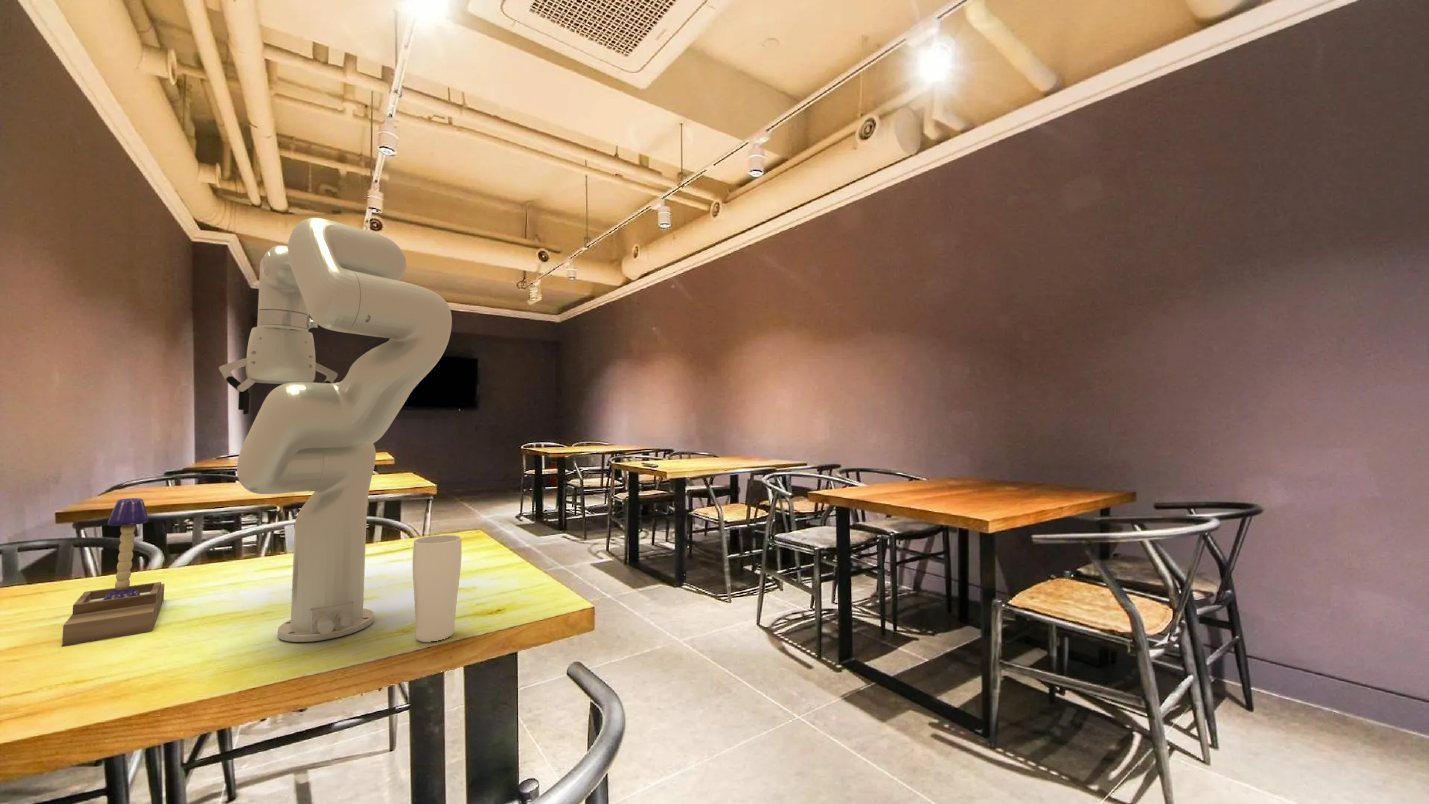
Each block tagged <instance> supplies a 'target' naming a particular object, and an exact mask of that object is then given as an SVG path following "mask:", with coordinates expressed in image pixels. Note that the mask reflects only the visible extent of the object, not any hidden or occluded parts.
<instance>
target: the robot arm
mask: <svg viewBox="0 0 1429 804" xmlns="http://www.w3.org/2000/svg"><path fill="white" fill-rule="evenodd" d="M406 269H407V259H406V257H405V254H404V252H403V251H402V249H401V247H400V246H399V245H398V244H397V243H396V242H395V241H393V240H391V239H390V238H388V237H386V236H384V235H381V234H379V233H376V232H375V231H374V232H373V231H370V230H366V229H363V228H360V227H355V226H352V225H349V224H344V223H341V222H338V221H334V220H330V219H327V218H324V217H323V218H322V217H310V218H309V217H308V218H306V219H304V220H301V221H300V222H299V223H297V225H295V226H294V228H293V229H292V231H291V233H290V235H289V238H288V242H287V245H280V244H279V245H275V246H272V247H271V248H270V249H269V250H268V251H266V252H265V253H264V255H263V257H262V258H261V260H260V263H259V280H258V281H259V283H258V301H257V302H258V303H257V323H256V324H257V325H256V326H254V327H252V328H251V331H250V334H249V338H248V341H247V342H248V344H247V348H246V357H245V358H241V359H238V360H235V361H232V362H228V363H225V364H222V365H220V366H219V367H218V369H219V371H220V373H221V374H222V376H223V377H224V379H225V382H226V383H228V384H229V385H230V386H231V387H232V388H234V389H235V390H236V391H237V392H238V404H237V405H238V410H239V411H241V410H242V414H243V415H248V414H249V411H250V410H249V409H250V392H249V388H250V387H252V386H253V385H254V384H255V383H256V384H257V383H258V384H275V385H277V384H278V386H276V387H275V388H274V389H272V390H271V391H270V392H269V393H268V394H267V396H266V397H265V399H264V400H263V402H262V404H261V407H260V409H259V411H258V412H257V415H256V417H255V419H254V421H253V423H252V425H251V426H250V429H249V432H248V433H247V435H246V437H245V440H244V441H243V444H242V446H241V449H240V451H239V454H238V458H237V463H236V475H237V478H238V480H239V483H240V485H241V486H242V487H243V488H244V489H246V490H247V491H248V492H250V493H254V494H257V495H277V494H278V495H280V494H291V493H301V492H302V493H306V492H313V493H312V494H311V495H310V497H308V499H307V501H306V502H305V503H304V504H303V505H302V507H301V509H300V510H299V512H298V513H297V515H296V518H295V522H294V532H293V533H294V536H293V558H292V559H293V561H292V579H291V580H292V581H291V583H292V584H291V585H292V586H291V587H292V588H291V606H290V607H291V608H290V609H291V610H290V619H288V620H286V621H284V622H283V623H282V624H281V625H279V626H278V628H277V637H278V638H279V640H282V641H286V642H291V643H309V642H319V641H325V640H332V639H336V638H340V637H344V636H348V635H351V634H354V633H356V632H359V631H362V630H364V629H365V628H368V627H369V626H370V625H372V624H373V622H374V619H375V614H374V612H373V610H371V609H368V608H364V597H365V596H364V595H365V594H364V593H365V569H366V566H365V565H366V543H367V542H366V540H367V539H366V538H367V522H368V521H367V519H368V518H367V517H368V515H367V514H368V501H369V494H370V493H369V492H370V488H371V483H372V482H371V481H372V478H373V474H374V470H375V465H376V460H377V459H376V458H377V457H376V455H377V454H376V453H377V452H376V447H375V443H376V442H378V440H380V439H381V438H382V437H383V436H384V435H385V433H386V432H387V431H388V430H389V428H390V427H391V425H392V423H393V421H394V420H395V418H396V417H397V416H398V414H399V412H400V411H401V409H402V408H403V406H404V405H405V402H407V400H408V398H409V396H410V394H411V393H412V392H413V390H414V389H415V388H416V387H417V386H418V385H419V383H420V382H421V381H422V380H423V379H424V378H426V377H427V375H428V374H429V373H430V372H431V371H432V370H433V368H434V367H435V366H436V365H437V364H438V362H440V360H441V358H442V356H443V354H444V353H445V351H446V349H447V346H448V344H449V341H450V337H451V333H452V324H453V323H452V321H453V320H452V319H453V317H452V311H451V308H450V306H449V303H448V302H447V301H446V300H445V299H444V297H443V296H441V295H440V294H438V293H436V292H435V291H433V290H431V289H428V288H426V287H424V286H420V285H417V284H414V283H410V282H407V281H403V280H402V281H401V279H402V277H404V274H405V273H406ZM318 326H320V327H321V328H323V329H325V330H329V331H334V332H339V333H345V334H355V335H361V336H368V337H375V338H385V339H389V340H388V341H386V342H384V343H381V344H380V345H378V346H375V347H373V348H371V349H370V350H368V351H367V352H365V353H364V354H362V355H360V357H358V358H357V359H356V360H355V361H354V362H353V363H352V364H351V366H350V367H349V370H348V372H347V373H346V375H345V377H344V378H343V379H342V380H341V381H339V382H338V381H337V382H335V380H336V379H337V378H338V375H339V374H338V373H337V371H335V370H332V369H330V368H328V367H326V366H324V365H322V364H320V363H318V362H317V361H316V350H315V349H316V348H315V341H314V335H313V332H310V331H309V330H310V329H313V328H315V329H318V328H319V327H318ZM242 367H243V368H244V367H245V372H244V373H245V378H246V379H245V380H244V381H242V382H240V381H239V380H238V379H236V377H235V376H234V375H233V373H232V371H233V370H237V369H240V368H242ZM316 372H319V373H320V374H322V375H324V376H326V379H325V380H324V381H323V382H315V379H316ZM279 384H280V385H279Z"/></svg>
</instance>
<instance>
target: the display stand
mask: <svg viewBox="0 0 1429 804" xmlns="http://www.w3.org/2000/svg"><path fill="white" fill-rule="evenodd" d="M128 588H134V589H136V590H137V591H138V592H139V593H140V595H137V596H129V597H122V598H115V599H107V600H103V599H104V597H105V596H106V595H107V594H108V593H109V592H111V591H113V590H116V588H115V587H113V588H104V589H103V588H102V589H96V590H90V591H88V590H86V591H84V592H83V593H82V594H81V596H79V597H78V598H77V600H76V601H75V602H74V604H73V605H72V614H71V615H70V616H69V618H68V619H67V620H66V621H65V623H64V624H63V625H62V641H61V647H65V646H66V647H67V646H71V645H77V644H84V643H88V642H95V641H101V640H108V639H113V638H120V637H126V636H130V635H135V634H143V633H147V632H148V633H149V632H153V629H154V627H155V624H156V622H157V619H158V616H159V613H160V611H161V608H162V605H163V604H164V600H165V599H164V598H165V583H162V582H161V581H158V582H151V583H141V584H135V585H129V587H128Z"/></svg>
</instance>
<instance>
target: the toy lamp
mask: <svg viewBox="0 0 1429 804" xmlns="http://www.w3.org/2000/svg"><path fill="white" fill-rule="evenodd" d="M146 508H147V507H146V505H145V501H144V499H142V498H141V497H140V498H137V497H136V498H135V497H134V498H133V497H132V498H131V497H130V498H121V499H120V498H119V499H118V500H117V501H116V503H115V505H114V506H113V509H112V511H111V513H110V516H109V519H108V520H107V525H108V526H111V527H112V526H113V527H114V526H115V527H118V526H119V527H120V535H119V541H120V543H119V546H118V551H119V553H118V556H117V560H118V562H117V565H116V570H117V572H116V574H115V579H116V581H115V583H114V588H116V590H113V591H111V592H109V593H108V594H107V595H106V596H105V597H104V599H103V600H107V599H115V598H122V597H129V596H137V595H140V593H139V592H138V591H137V590H136V589H134V588H128V587H129V586H131V582H130V578H131V576H132V572H131V569H132V568H133V567H132V566H133V562H132V559H133V557H134V552H133V550H134V548H135V544H134V540H135V537H136V536H135V533H134V532H135V531H136V528H137V527H136V526H137V525H142V524H147V523H148V522H149V516H148V512H147V509H146Z"/></svg>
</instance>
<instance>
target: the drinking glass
mask: <svg viewBox="0 0 1429 804" xmlns="http://www.w3.org/2000/svg"><path fill="white" fill-rule="evenodd" d="M412 548H413V549H412V582H413V583H412V585H413V597H414V615H415V616H414V618H415V638H416V640H417V641H419V642H421V643H432V642H431V641H437V642H439V641H438V640H441V641H443V640H442V639H444V638H447V639H449V638H450V637H452V636H453V635H454V633H455V627H456V625H455V622H456V621H455V619H456V613H457V600H458V593H459V585H460V578H461V567H462V537H461V536H460V535H456V534H455V535H454V534H439V535H438V534H437V535H436V534H435V535H428V536H423V537H419V538H417V539H414V541H413V547H412ZM449 636H450V637H449ZM448 637H449V638H448ZM444 640H445V639H444Z"/></svg>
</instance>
